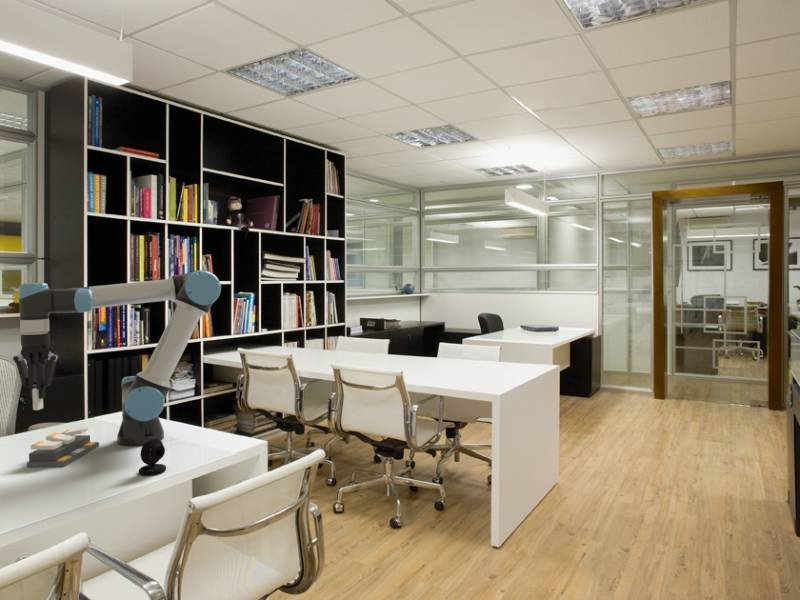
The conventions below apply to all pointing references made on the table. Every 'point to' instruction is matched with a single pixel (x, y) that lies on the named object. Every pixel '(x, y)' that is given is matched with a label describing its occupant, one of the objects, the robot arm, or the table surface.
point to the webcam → (152, 457)
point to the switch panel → (63, 463)
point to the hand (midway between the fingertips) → (38, 409)
